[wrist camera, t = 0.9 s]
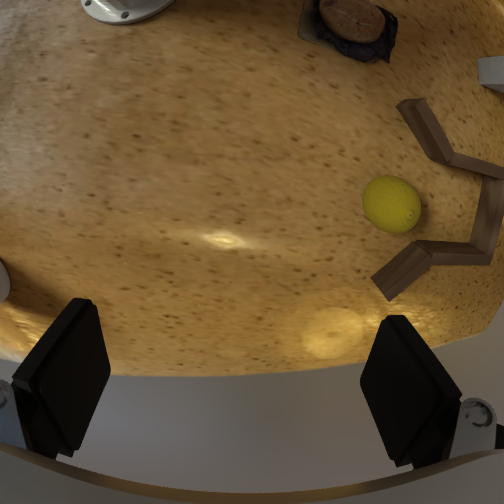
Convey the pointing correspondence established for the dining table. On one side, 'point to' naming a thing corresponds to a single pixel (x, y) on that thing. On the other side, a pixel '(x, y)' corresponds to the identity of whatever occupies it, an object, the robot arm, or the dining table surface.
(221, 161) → the dining table surface
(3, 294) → the milk bottle
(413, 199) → the lemon
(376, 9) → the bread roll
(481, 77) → the grey block
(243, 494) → the robot arm
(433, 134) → the corral
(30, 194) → the dining table surface
